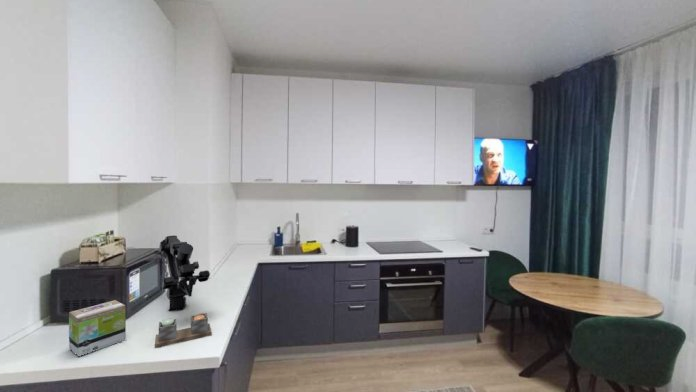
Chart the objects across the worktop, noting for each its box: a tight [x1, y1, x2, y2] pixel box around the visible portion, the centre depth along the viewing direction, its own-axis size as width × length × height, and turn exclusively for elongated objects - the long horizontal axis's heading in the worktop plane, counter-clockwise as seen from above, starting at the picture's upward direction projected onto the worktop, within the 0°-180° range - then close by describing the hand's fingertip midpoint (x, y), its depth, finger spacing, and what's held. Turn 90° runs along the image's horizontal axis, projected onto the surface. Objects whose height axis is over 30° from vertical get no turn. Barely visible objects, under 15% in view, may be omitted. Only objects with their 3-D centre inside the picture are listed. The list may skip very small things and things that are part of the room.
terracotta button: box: [194, 314, 205, 320], centre depth 126 cm, size 4×4×2 cm
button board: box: [154, 312, 213, 349], centre depth 123 cm, size 20×8×7 cm, turn 121°
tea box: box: [68, 299, 127, 357], centre depth 117 cm, size 15×10×15 cm
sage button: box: [160, 317, 175, 327], centre depth 120 cm, size 4×4×2 cm
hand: (190, 296), depth 132 cm, fingers closed
